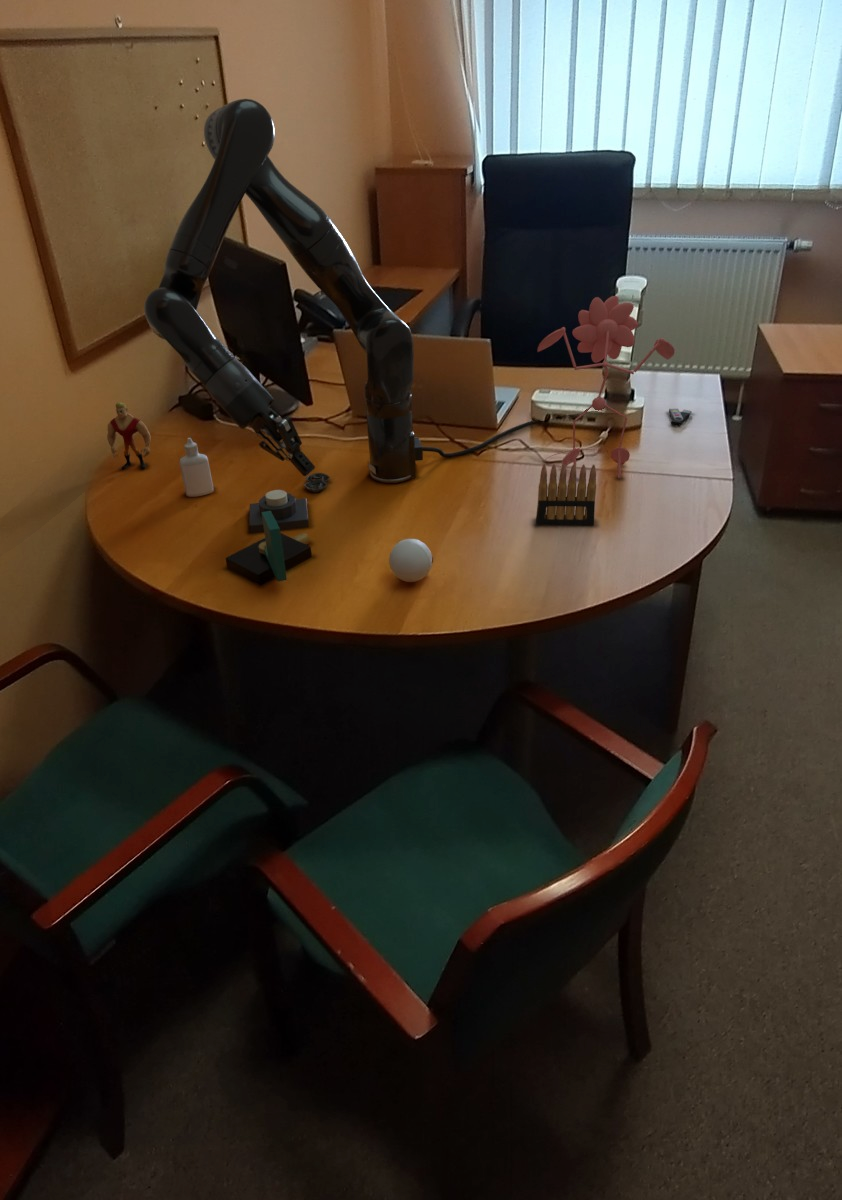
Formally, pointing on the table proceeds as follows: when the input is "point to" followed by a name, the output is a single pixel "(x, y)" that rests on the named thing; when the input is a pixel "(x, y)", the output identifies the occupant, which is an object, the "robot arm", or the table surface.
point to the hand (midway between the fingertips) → (310, 472)
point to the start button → (276, 498)
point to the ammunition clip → (566, 498)
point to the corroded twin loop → (316, 482)
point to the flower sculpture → (604, 353)
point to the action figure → (128, 434)
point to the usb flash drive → (679, 416)
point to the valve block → (257, 564)
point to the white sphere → (410, 560)
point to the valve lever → (273, 546)
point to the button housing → (280, 514)
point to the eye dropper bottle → (195, 471)
